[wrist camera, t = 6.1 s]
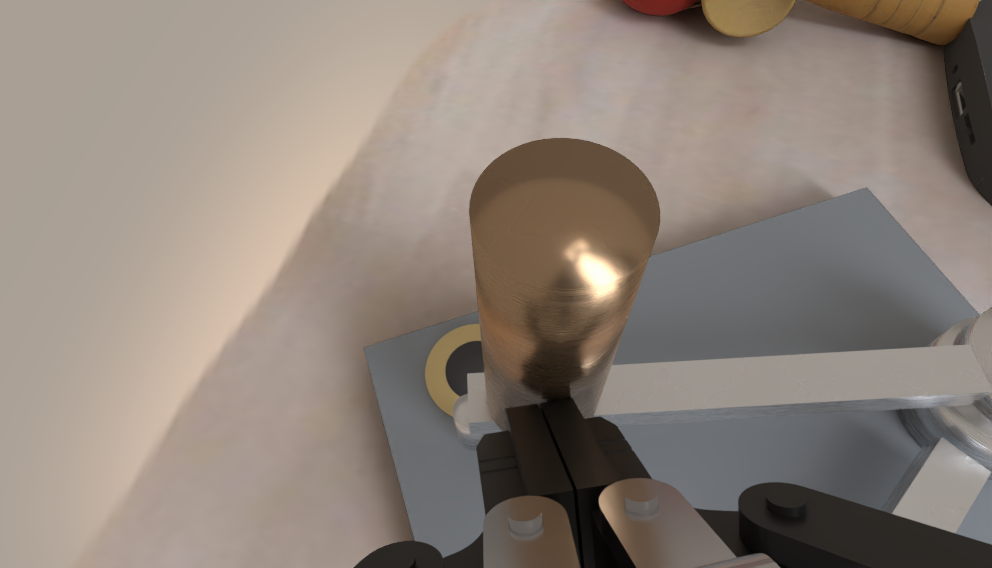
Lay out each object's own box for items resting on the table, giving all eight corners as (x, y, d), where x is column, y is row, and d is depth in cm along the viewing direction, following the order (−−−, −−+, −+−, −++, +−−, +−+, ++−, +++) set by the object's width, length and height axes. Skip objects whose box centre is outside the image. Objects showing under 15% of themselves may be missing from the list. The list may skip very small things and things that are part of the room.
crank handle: (1008, 344, 20) (1447, 69, 11) (1073, 464, 18) (1690, 255, 9) (456, 376, 20) (409, 125, 11) (459, 501, 18) (402, 328, 9)
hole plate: (849, 210, 26) (868, 184, 25) (1247, 684, 17) (1314, 686, 16) (371, 364, 23) (362, 345, 21) (555, 1053, 14) (561, 1098, 12)
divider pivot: (937, 326, 21) (985, 290, 19) (1065, 419, 20) (1133, 390, 17) (543, 745, 16) (548, 760, 13) (674, 934, 14) (704, 986, 12)
